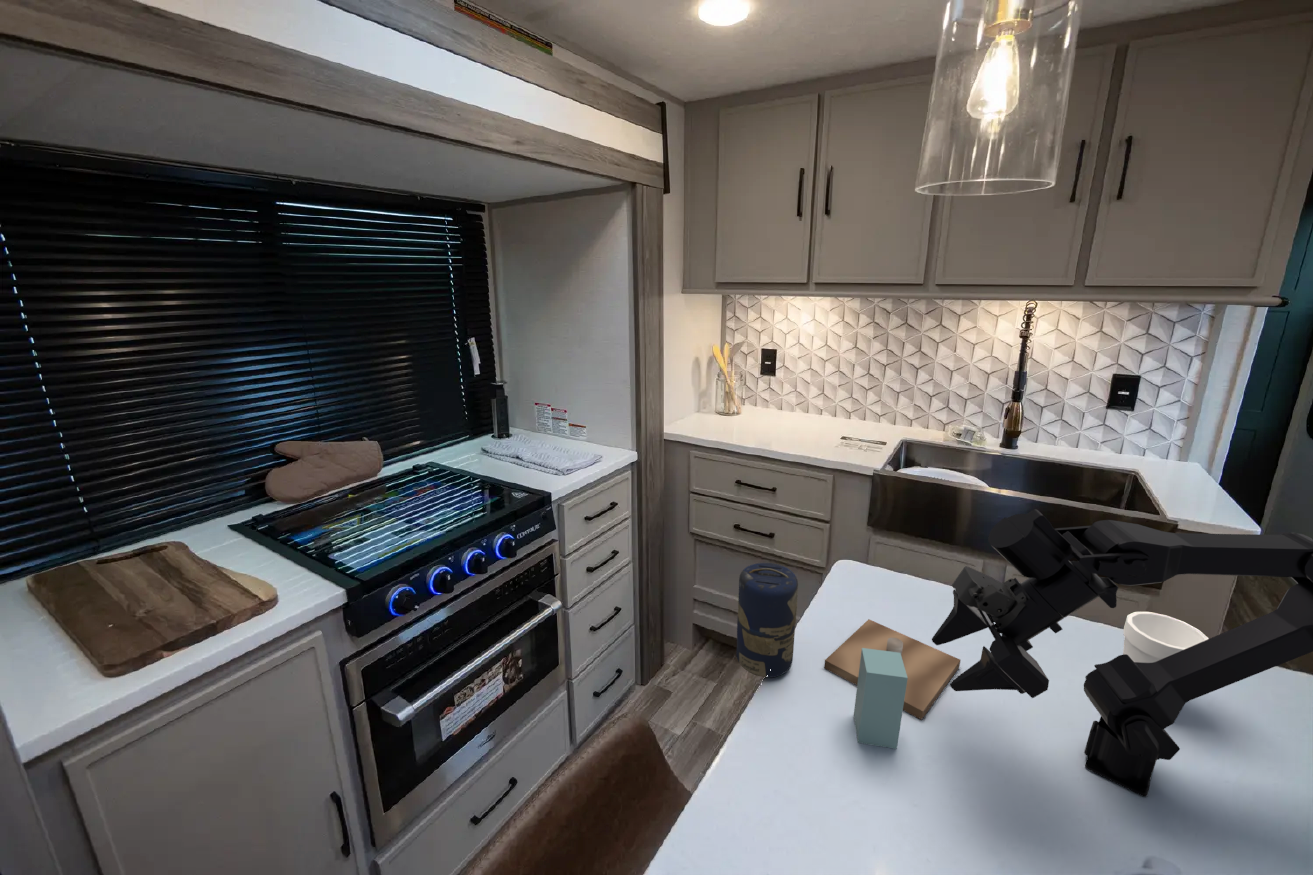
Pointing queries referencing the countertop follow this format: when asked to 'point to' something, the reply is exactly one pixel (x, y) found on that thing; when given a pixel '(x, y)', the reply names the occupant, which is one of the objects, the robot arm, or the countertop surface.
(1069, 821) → the countertop surface
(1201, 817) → the countertop surface
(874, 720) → the tall sage green block
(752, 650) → the canister
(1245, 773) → the countertop surface
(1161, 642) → the foam cup
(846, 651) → the stand
